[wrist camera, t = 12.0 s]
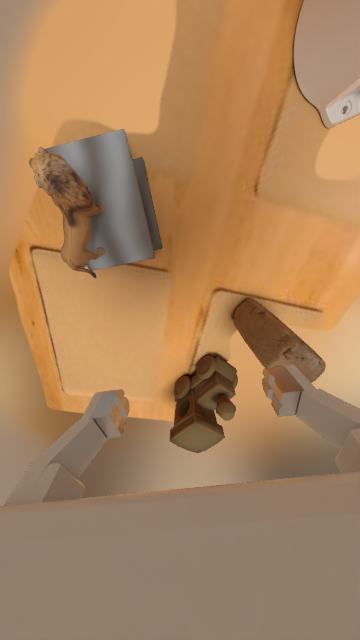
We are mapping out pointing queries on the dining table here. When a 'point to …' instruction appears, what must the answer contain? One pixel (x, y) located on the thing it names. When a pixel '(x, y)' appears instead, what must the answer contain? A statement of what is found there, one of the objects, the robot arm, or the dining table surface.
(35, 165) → the lion figurine
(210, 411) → the wooden toy train
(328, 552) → the robot arm
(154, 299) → the dining table surface
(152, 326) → the dining table surface
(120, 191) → the stand
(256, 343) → the block
